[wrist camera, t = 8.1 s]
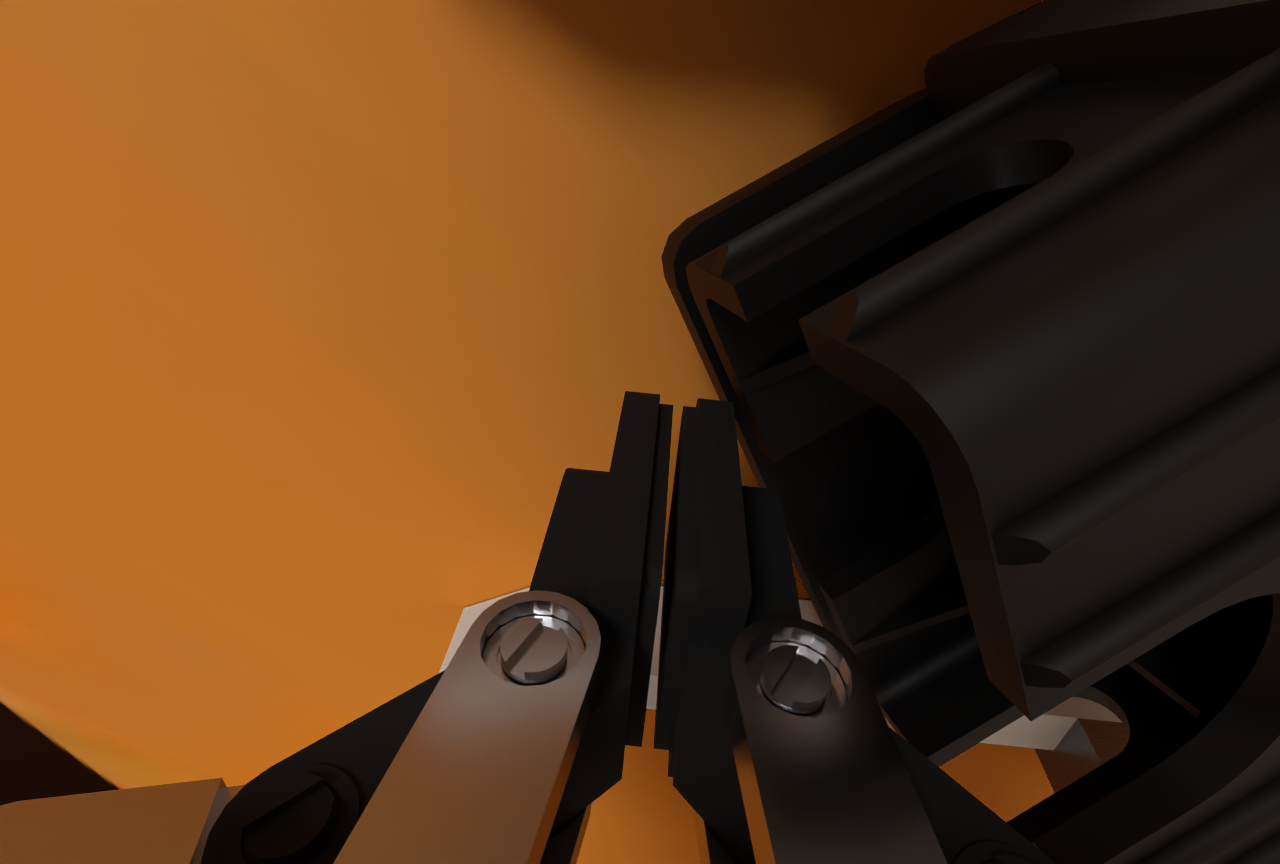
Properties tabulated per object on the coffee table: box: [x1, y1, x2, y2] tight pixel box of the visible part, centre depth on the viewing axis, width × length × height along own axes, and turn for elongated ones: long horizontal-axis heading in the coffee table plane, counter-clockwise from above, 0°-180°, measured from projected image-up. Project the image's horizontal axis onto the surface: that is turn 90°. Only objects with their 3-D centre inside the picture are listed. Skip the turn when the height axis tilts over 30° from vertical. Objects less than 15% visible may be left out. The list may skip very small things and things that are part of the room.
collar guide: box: [439, 586, 1129, 793], centre depth 10 cm, size 18×19×4 cm
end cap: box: [662, 0, 1280, 864], centre depth 8 cm, size 10×7×7 cm
